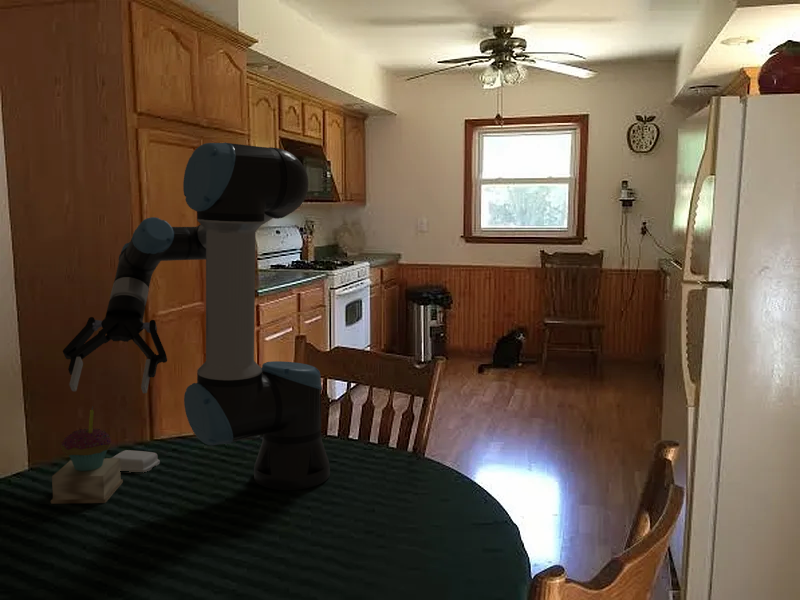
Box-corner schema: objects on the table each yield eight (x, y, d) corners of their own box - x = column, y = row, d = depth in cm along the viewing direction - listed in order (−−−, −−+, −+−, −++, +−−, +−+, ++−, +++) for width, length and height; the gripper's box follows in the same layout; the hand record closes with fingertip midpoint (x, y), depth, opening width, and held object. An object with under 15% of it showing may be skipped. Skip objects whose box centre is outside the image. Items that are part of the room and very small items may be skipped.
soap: (104, 471, 139) (104, 458, 139) (124, 460, 146) (123, 447, 146) (144, 475, 138) (144, 461, 137) (162, 463, 144) (162, 450, 144)
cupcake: (122, 463, 129) (120, 402, 128) (84, 478, 122) (81, 413, 120) (90, 456, 133) (87, 396, 132) (51, 470, 125) (48, 407, 124)
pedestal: (122, 482, 133) (122, 457, 132) (105, 502, 124) (104, 476, 123) (72, 482, 132) (71, 458, 132) (50, 503, 123) (49, 477, 122)
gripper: (187, 315, 154) (174, 399, 142) (71, 310, 150) (47, 396, 138) (184, 296, 148) (170, 381, 136) (63, 290, 144) (37, 378, 132)
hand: (108, 389), depth 137 cm, fingers open, 13 cm apart
